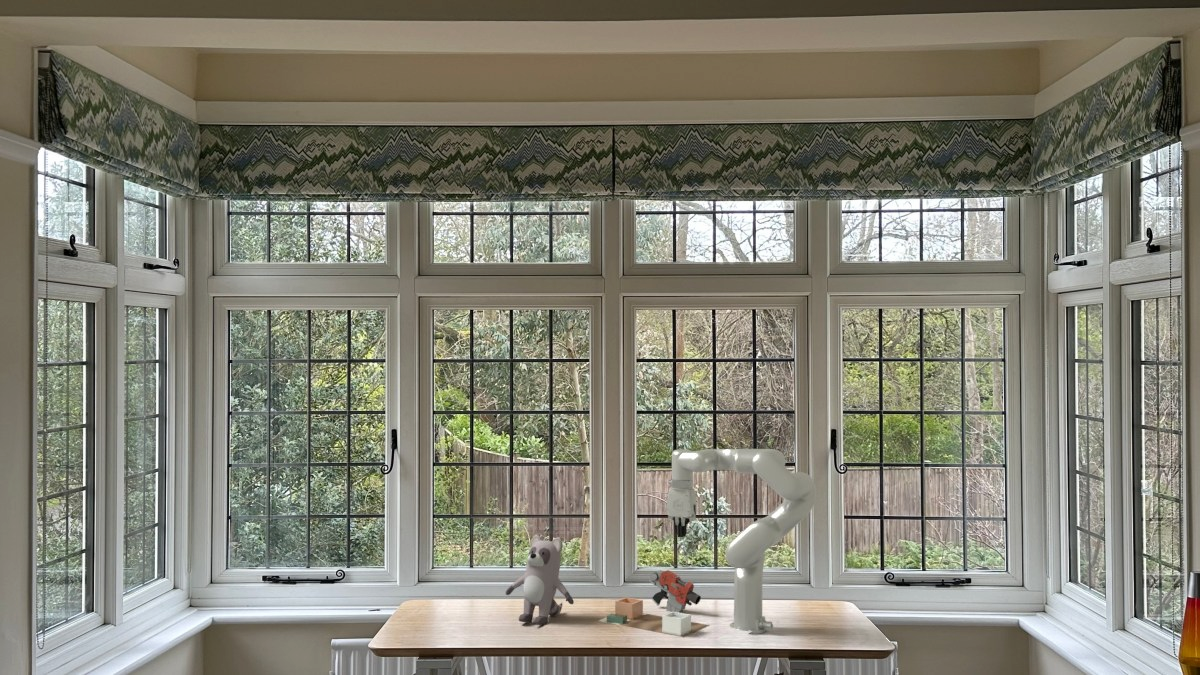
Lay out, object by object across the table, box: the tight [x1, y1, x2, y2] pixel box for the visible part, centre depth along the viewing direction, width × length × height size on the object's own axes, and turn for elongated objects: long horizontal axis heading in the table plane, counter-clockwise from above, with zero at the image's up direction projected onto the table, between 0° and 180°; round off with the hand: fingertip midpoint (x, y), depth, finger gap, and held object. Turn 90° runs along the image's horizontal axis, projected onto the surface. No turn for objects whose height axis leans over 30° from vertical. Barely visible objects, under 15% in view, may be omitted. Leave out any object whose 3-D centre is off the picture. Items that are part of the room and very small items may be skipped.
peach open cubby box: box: [614, 597, 644, 620], centre depth 334 cm, size 7×7×6 cm
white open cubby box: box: [661, 611, 692, 637], centre depth 315 cm, size 7×7×6 cm
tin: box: [606, 613, 627, 624], centre depth 327 cm, size 6×4×2 cm, turn 66°
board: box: [597, 612, 710, 638], centre depth 326 cm, size 34×18×1 cm, turn 56°
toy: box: [505, 534, 575, 626], centre depth 330 cm, size 21×21×29 cm
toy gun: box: [648, 569, 702, 613], centre depth 342 cm, size 4×20×15 cm, turn 53°
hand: (681, 536), depth 337 cm, fingers closed
